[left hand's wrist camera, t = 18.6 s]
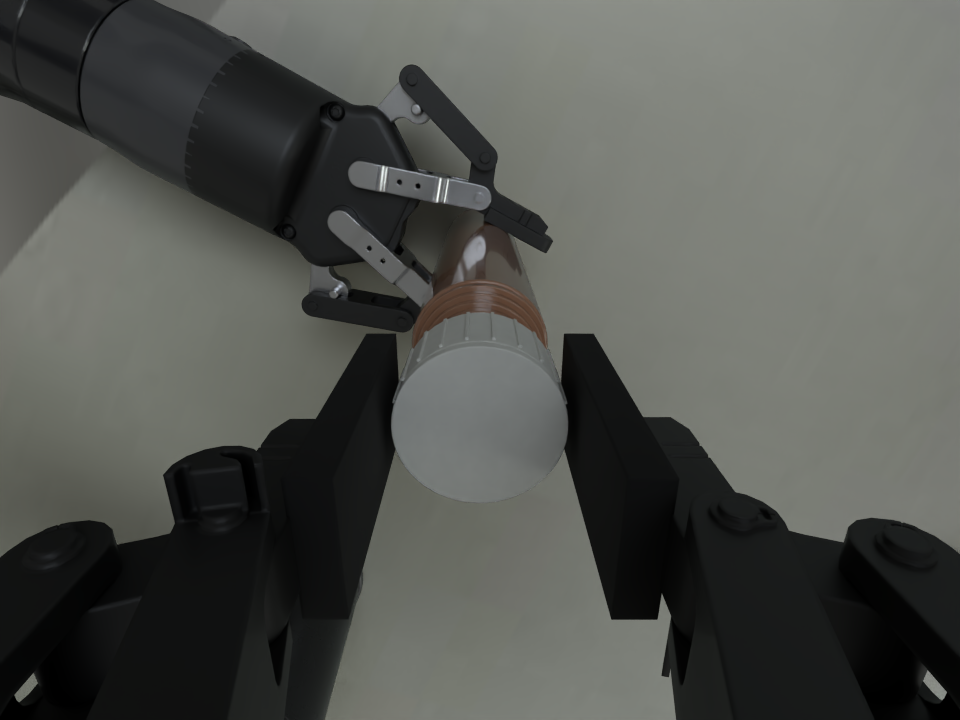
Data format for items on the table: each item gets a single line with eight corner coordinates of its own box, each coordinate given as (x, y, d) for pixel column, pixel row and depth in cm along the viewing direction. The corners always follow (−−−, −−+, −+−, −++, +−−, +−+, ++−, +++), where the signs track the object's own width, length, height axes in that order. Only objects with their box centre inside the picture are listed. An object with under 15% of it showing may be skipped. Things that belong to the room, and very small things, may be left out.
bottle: (435, 255, 35) (360, 449, 13) (465, 195, 34) (437, 295, 12) (493, 285, 36) (515, 516, 14) (524, 227, 35) (605, 379, 12)
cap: (541, 294, 14) (554, 326, 11) (567, 434, 15) (584, 488, 13) (385, 327, 14) (366, 365, 12) (425, 461, 15) (415, 519, 13)
